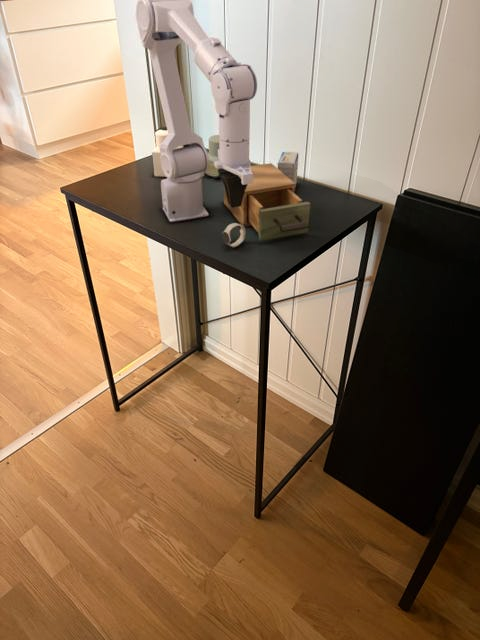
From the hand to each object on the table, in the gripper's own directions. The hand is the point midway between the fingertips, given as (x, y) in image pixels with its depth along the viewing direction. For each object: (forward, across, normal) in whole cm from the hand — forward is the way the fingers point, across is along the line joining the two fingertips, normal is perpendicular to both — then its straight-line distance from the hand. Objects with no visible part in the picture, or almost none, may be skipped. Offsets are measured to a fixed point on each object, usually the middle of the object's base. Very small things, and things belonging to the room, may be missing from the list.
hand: (234, 205), depth 101 cm
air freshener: (+10, -39, +10) cm, 41 cm away
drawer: (+8, -2, +11) cm, 14 cm away
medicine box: (+10, -23, +23) cm, 34 cm away
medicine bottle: (+10, -45, -3) cm, 46 cm away
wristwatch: (+10, 0, 0) cm, 10 cm away
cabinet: (+9, -14, +11) cm, 20 cm away
